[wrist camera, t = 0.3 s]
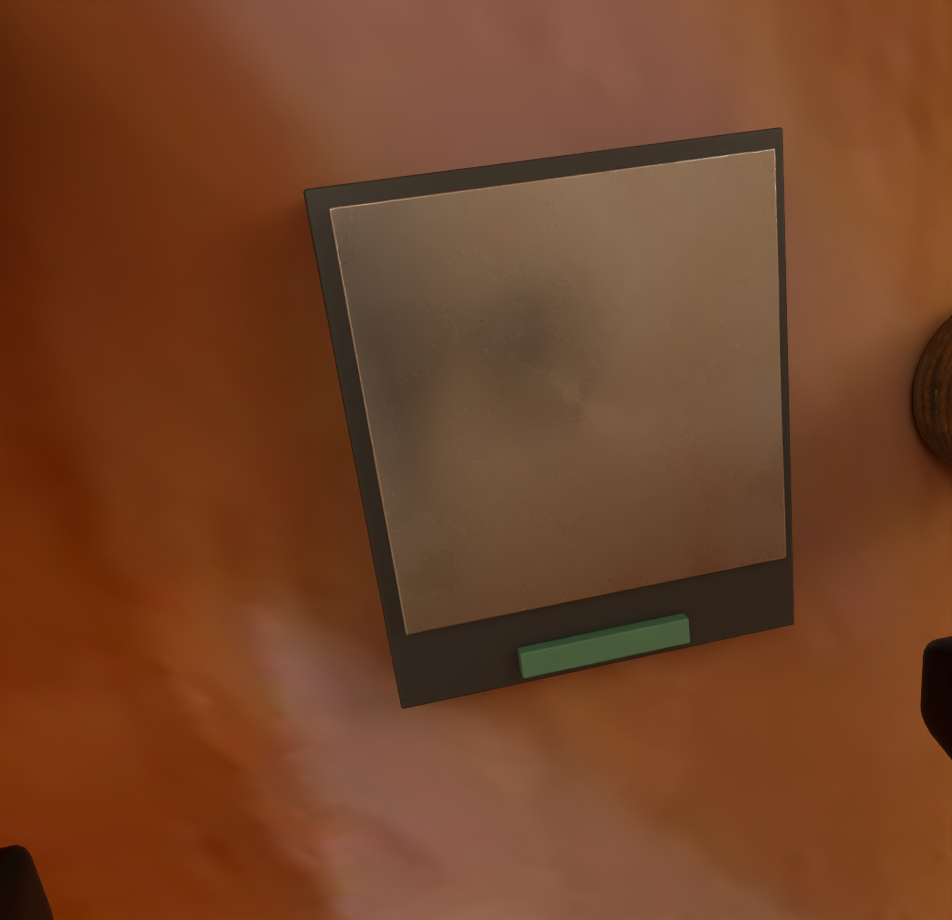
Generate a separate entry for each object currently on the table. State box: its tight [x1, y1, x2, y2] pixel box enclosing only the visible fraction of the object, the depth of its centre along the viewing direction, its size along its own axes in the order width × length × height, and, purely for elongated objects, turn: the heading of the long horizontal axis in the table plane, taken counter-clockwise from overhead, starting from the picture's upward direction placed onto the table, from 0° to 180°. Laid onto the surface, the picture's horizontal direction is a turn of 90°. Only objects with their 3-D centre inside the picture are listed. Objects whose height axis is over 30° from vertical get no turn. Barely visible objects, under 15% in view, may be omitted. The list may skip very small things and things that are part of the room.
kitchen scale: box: [304, 127, 794, 709], centre depth 21 cm, size 14×12×2 cm
